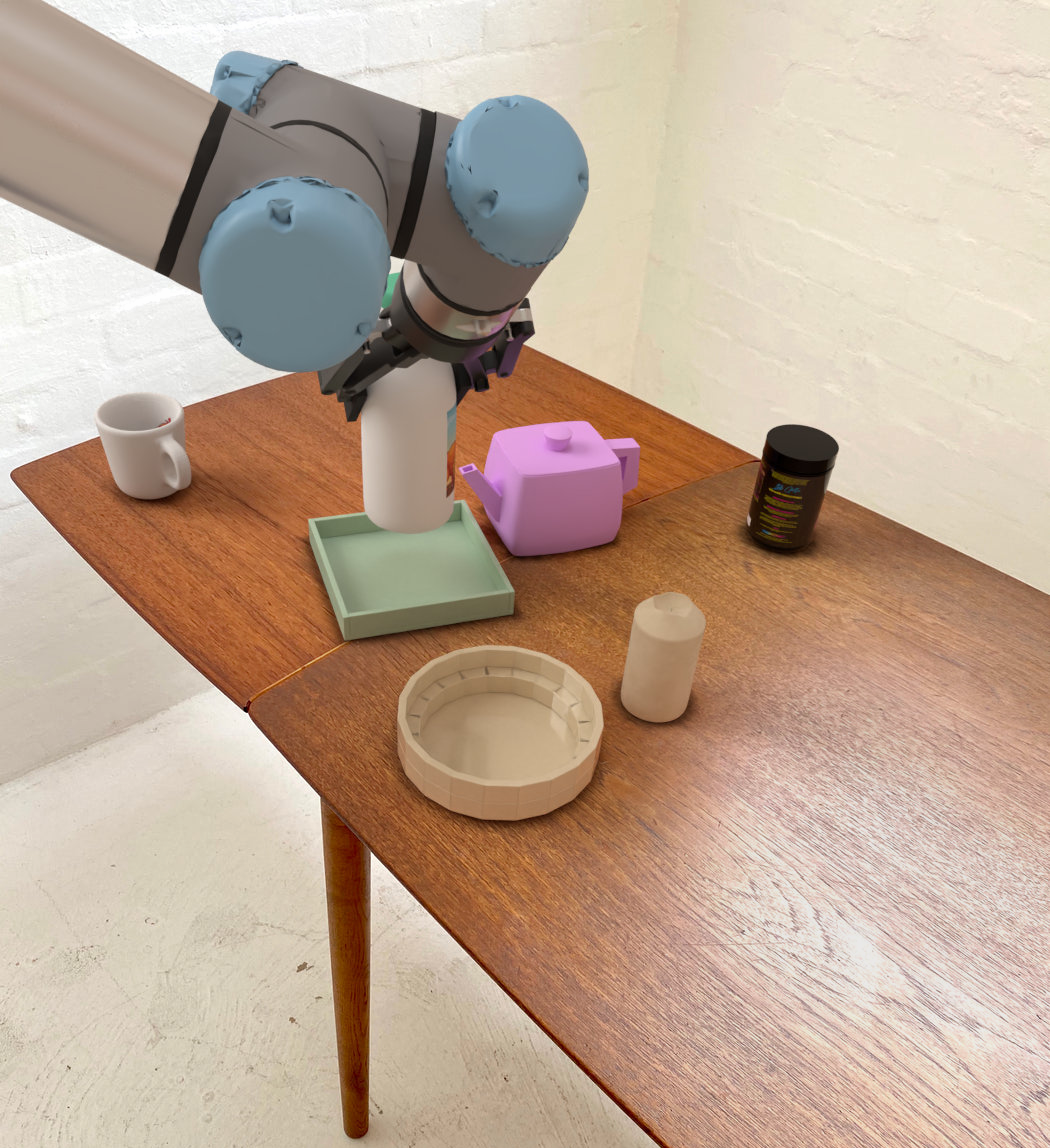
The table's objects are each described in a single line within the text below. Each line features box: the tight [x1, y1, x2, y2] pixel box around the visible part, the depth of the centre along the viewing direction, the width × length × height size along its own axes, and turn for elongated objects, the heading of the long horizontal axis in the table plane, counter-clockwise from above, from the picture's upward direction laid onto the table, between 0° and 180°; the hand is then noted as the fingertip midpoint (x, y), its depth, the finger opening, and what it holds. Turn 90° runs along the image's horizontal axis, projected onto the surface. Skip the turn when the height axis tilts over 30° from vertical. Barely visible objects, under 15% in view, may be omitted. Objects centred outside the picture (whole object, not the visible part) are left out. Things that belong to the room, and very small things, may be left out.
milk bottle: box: [360, 271, 458, 534], centre depth 89 cm, size 8×8×20 cm
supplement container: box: [745, 423, 840, 554], centre depth 106 cm, size 7×7×10 cm
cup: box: [94, 391, 192, 500], centre depth 105 cm, size 11×8×8 cm
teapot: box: [458, 420, 641, 557], centre depth 105 cm, size 18×10×10 cm, turn 111°
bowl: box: [396, 644, 605, 821], centre depth 84 cm, size 15×15×4 cm
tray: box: [307, 499, 516, 642], centre depth 99 cm, size 15×15×2 cm
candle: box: [620, 591, 707, 723], centre depth 87 cm, size 6×6×10 cm
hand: (398, 400), depth 92 cm, fingers closed on milk bottle, 8 cm apart
